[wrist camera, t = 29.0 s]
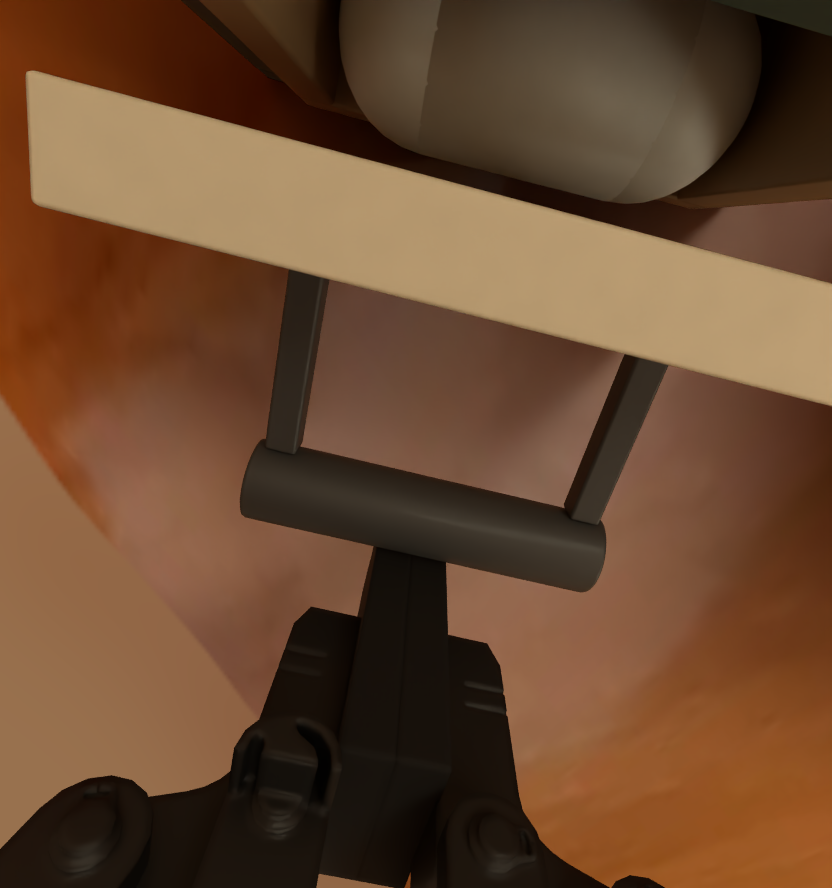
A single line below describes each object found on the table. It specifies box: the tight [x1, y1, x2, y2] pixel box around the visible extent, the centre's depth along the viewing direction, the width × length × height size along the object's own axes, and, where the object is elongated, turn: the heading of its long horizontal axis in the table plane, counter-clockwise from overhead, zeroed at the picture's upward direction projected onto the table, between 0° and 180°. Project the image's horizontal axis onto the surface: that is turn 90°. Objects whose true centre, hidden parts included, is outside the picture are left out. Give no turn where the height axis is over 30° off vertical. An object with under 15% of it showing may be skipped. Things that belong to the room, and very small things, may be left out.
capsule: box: [339, 0, 762, 204], centre depth 9 cm, size 7×3×3 cm
